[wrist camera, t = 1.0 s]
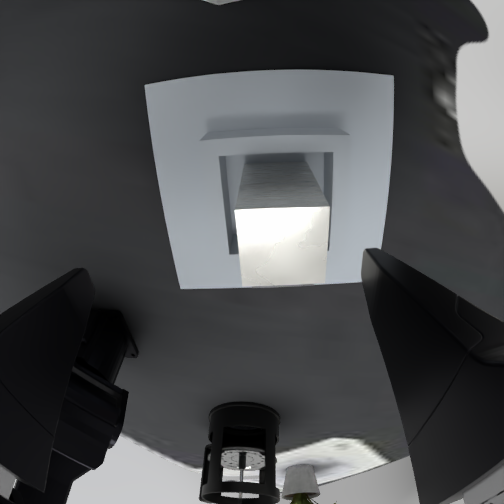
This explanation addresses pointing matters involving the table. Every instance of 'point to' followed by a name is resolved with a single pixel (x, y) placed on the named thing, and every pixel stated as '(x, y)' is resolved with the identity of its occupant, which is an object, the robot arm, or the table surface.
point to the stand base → (270, 159)
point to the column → (281, 226)
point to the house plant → (300, 484)
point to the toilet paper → (220, 1)
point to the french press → (241, 453)
